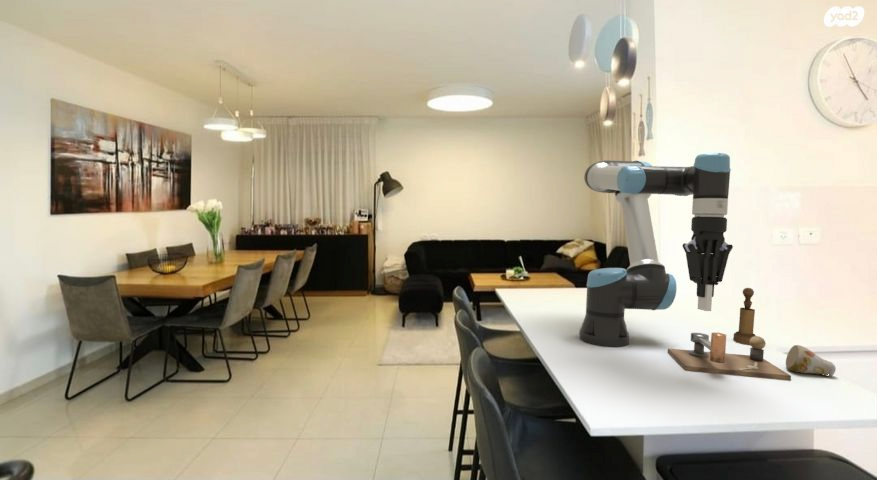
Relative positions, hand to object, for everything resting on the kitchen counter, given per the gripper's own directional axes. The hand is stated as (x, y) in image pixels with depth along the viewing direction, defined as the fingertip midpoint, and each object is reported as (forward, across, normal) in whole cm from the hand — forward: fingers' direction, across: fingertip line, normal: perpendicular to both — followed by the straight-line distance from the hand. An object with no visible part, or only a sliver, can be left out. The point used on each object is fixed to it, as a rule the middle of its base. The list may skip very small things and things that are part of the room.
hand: (704, 309), depth 110 cm
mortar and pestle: (+17, +41, +26) cm, 51 cm away
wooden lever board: (+17, +13, +6) cm, 22 cm away
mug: (+17, +32, -2) cm, 36 cm away
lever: (+13, +8, +6) cm, 17 cm away
